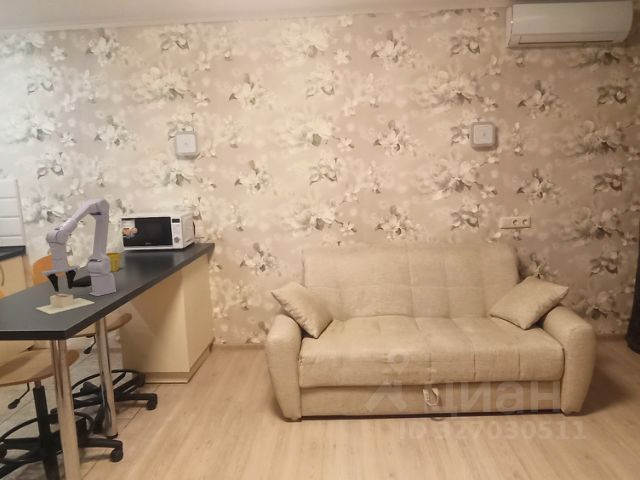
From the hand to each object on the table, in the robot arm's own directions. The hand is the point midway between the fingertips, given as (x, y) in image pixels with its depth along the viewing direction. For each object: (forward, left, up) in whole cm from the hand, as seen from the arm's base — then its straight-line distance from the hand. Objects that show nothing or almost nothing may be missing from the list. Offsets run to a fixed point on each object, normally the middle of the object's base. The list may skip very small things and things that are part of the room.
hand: (63, 289), depth 197 cm
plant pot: (-48, -52, -7) cm, 71 cm away
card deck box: (+1, -2, -7) cm, 7 cm away
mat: (0, 0, -7) cm, 7 cm away
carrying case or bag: (-25, -35, -8) cm, 43 cm away
